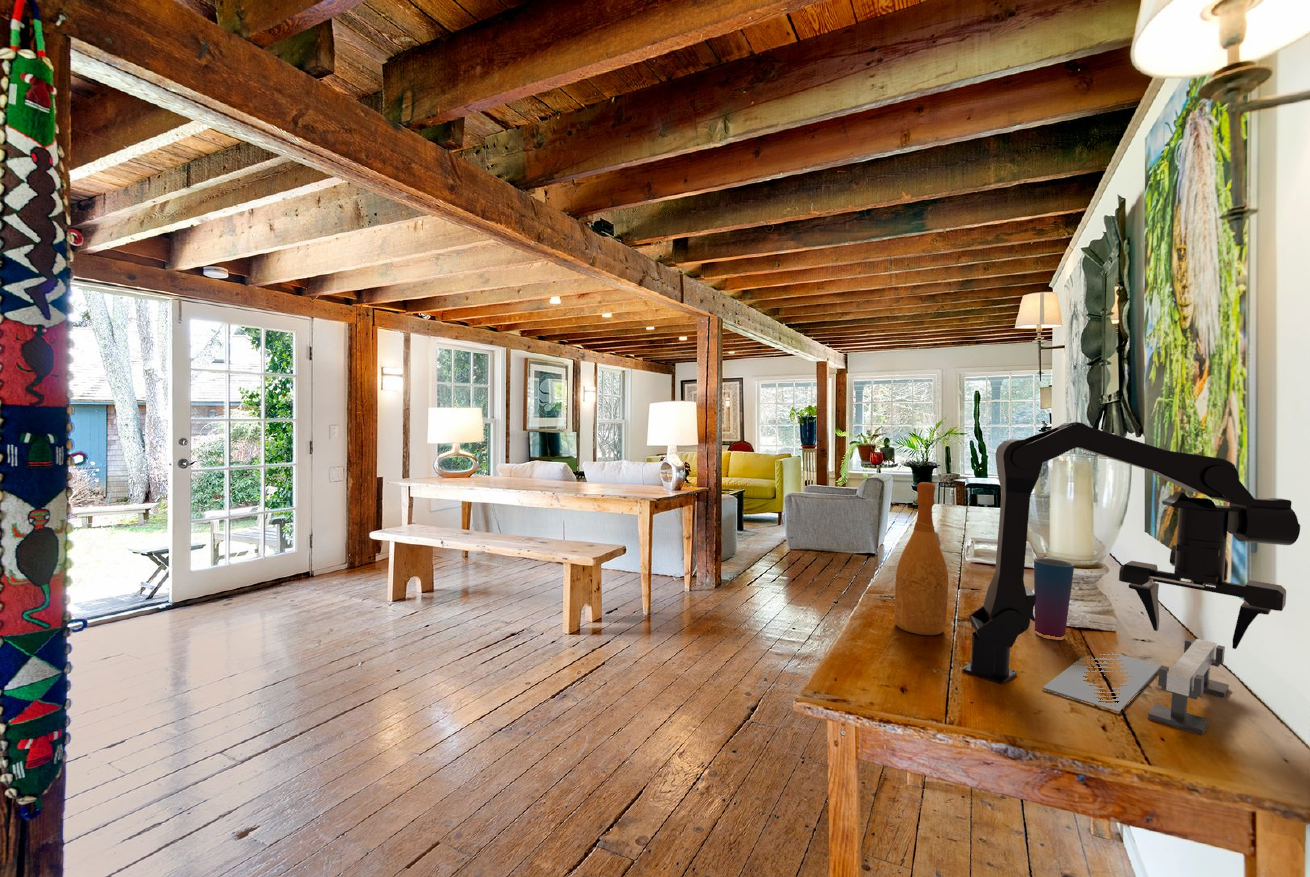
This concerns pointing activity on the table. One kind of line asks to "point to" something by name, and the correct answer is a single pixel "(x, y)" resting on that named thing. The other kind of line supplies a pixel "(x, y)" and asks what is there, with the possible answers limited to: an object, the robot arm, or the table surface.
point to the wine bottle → (922, 574)
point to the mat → (1080, 690)
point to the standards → (1178, 709)
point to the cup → (1052, 595)
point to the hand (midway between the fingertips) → (1193, 639)
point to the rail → (1191, 667)
